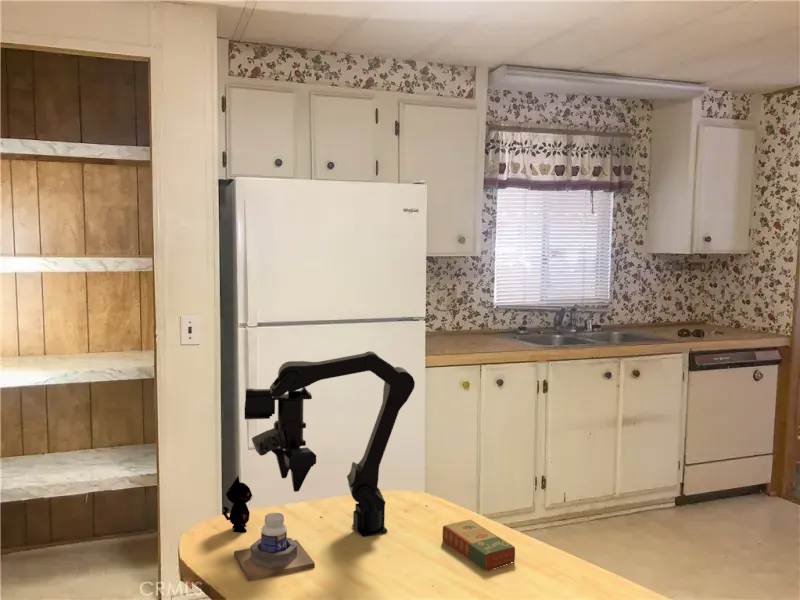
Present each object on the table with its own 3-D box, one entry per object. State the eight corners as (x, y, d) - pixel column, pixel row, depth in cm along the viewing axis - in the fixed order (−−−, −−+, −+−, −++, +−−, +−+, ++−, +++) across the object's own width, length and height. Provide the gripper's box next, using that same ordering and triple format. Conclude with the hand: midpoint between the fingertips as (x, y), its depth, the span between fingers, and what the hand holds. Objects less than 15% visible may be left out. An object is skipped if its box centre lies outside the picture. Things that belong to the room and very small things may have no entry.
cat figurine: (253, 534, 156) (253, 483, 155) (222, 536, 154) (222, 485, 153) (252, 521, 163) (252, 473, 162) (223, 523, 161) (223, 475, 160)
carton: (470, 535, 159) (471, 518, 158) (515, 564, 145) (516, 545, 145) (441, 542, 154) (442, 524, 154) (484, 573, 141) (485, 553, 140)
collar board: (296, 543, 152) (296, 528, 151) (314, 567, 141) (314, 551, 141) (234, 555, 145) (234, 540, 145) (248, 581, 135) (248, 564, 134)
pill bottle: (280, 564, 140) (281, 522, 139) (257, 561, 141) (257, 520, 140) (290, 552, 145) (290, 512, 144) (267, 549, 146) (267, 510, 145)
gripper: (245, 411, 158) (244, 476, 160) (267, 432, 142) (266, 504, 143) (291, 407, 163) (290, 469, 165) (317, 427, 147) (316, 496, 148)
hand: (290, 484), depth 155 cm, fingers open, 9 cm apart
